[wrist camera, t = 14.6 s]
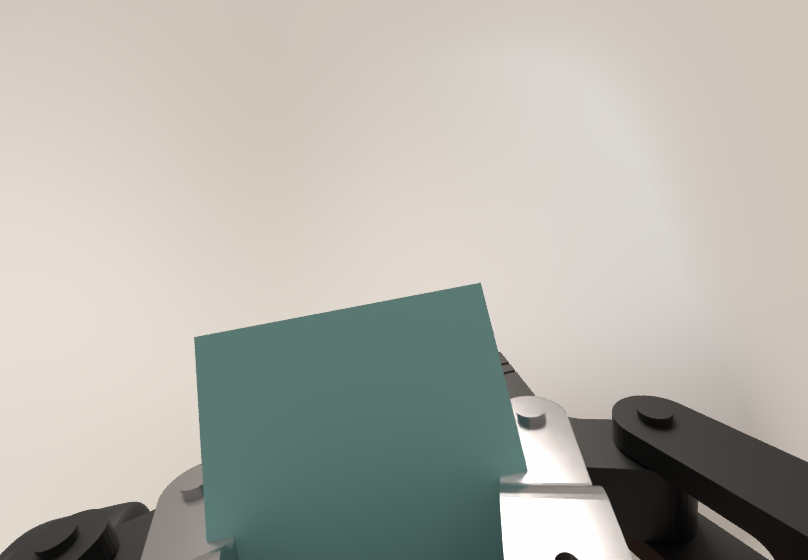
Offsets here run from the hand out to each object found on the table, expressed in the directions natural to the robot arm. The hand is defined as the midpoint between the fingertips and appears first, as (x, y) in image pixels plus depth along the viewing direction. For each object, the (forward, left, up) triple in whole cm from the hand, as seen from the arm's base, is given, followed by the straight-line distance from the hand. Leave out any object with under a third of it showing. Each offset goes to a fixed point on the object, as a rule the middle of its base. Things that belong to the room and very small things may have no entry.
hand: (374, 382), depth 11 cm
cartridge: (0, +4, -3) cm, 5 cm away
